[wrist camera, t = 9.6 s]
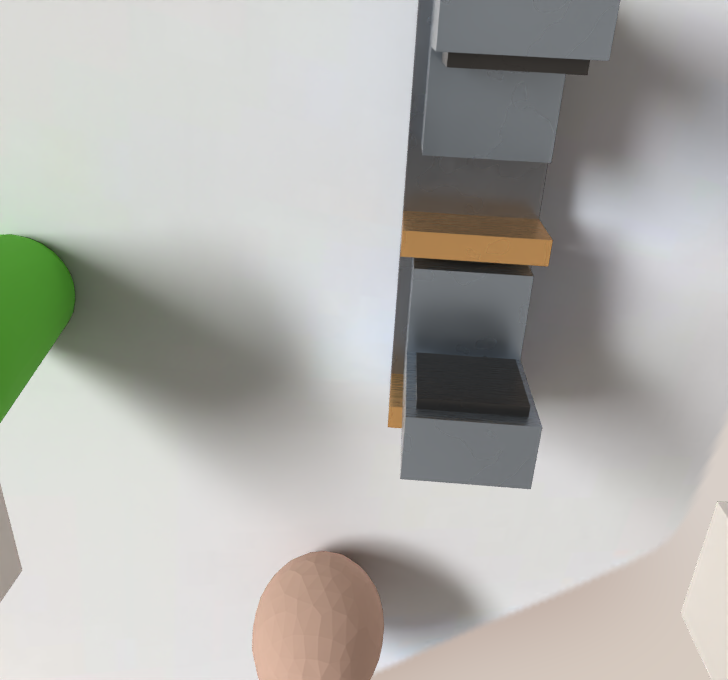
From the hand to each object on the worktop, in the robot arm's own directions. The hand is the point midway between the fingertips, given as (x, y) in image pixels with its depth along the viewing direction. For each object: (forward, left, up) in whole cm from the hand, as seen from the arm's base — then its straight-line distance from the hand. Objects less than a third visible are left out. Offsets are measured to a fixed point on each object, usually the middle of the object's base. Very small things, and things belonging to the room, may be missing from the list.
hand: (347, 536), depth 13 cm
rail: (-2, +3, -20) cm, 20 cm away
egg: (+19, -2, -20) cm, 28 cm away
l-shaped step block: (+3, +3, -18) cm, 18 cm away
